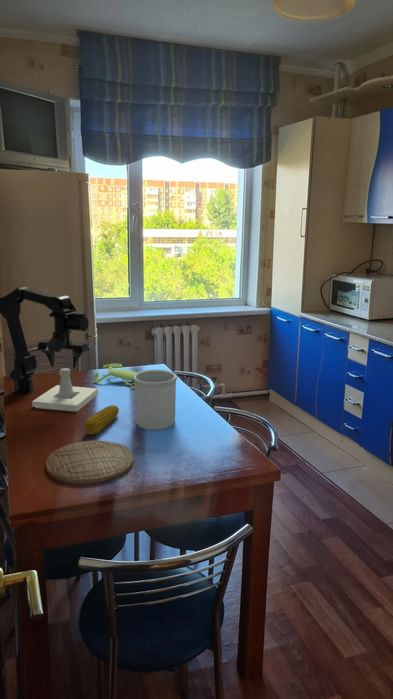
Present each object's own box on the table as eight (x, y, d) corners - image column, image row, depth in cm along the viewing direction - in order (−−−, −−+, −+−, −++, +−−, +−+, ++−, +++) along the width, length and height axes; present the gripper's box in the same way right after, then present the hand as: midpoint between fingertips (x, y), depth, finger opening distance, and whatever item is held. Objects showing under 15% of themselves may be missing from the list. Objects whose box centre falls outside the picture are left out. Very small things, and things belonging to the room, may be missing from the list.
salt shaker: (76, 398, 203) (74, 367, 200) (71, 403, 198) (70, 371, 194) (61, 397, 204) (59, 366, 200) (56, 402, 198) (54, 370, 195)
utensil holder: (170, 433, 172) (170, 383, 168) (128, 428, 175) (127, 380, 171) (180, 417, 186) (181, 371, 182) (141, 413, 189) (141, 368, 185)
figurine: (108, 372, 240) (108, 360, 239) (159, 379, 231) (159, 367, 229) (86, 383, 224) (85, 370, 222) (140, 391, 214) (140, 378, 213)
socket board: (32, 407, 193) (32, 401, 192) (57, 390, 212) (56, 385, 211) (77, 411, 189) (76, 405, 189) (98, 394, 208) (97, 388, 208)
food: (97, 438, 167) (96, 421, 166) (81, 436, 168) (81, 419, 167) (122, 415, 187) (121, 400, 185) (108, 414, 188) (107, 398, 187)
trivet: (40, 453, 156) (40, 448, 156) (120, 441, 166) (120, 435, 166) (53, 493, 134) (53, 486, 134) (144, 475, 144) (144, 469, 144)
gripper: (28, 331, 190) (31, 371, 194) (75, 334, 187) (76, 375, 190) (43, 325, 201) (45, 363, 205) (88, 328, 197) (89, 367, 201)
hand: (63, 367), depth 200 cm, fingers open, 9 cm apart
